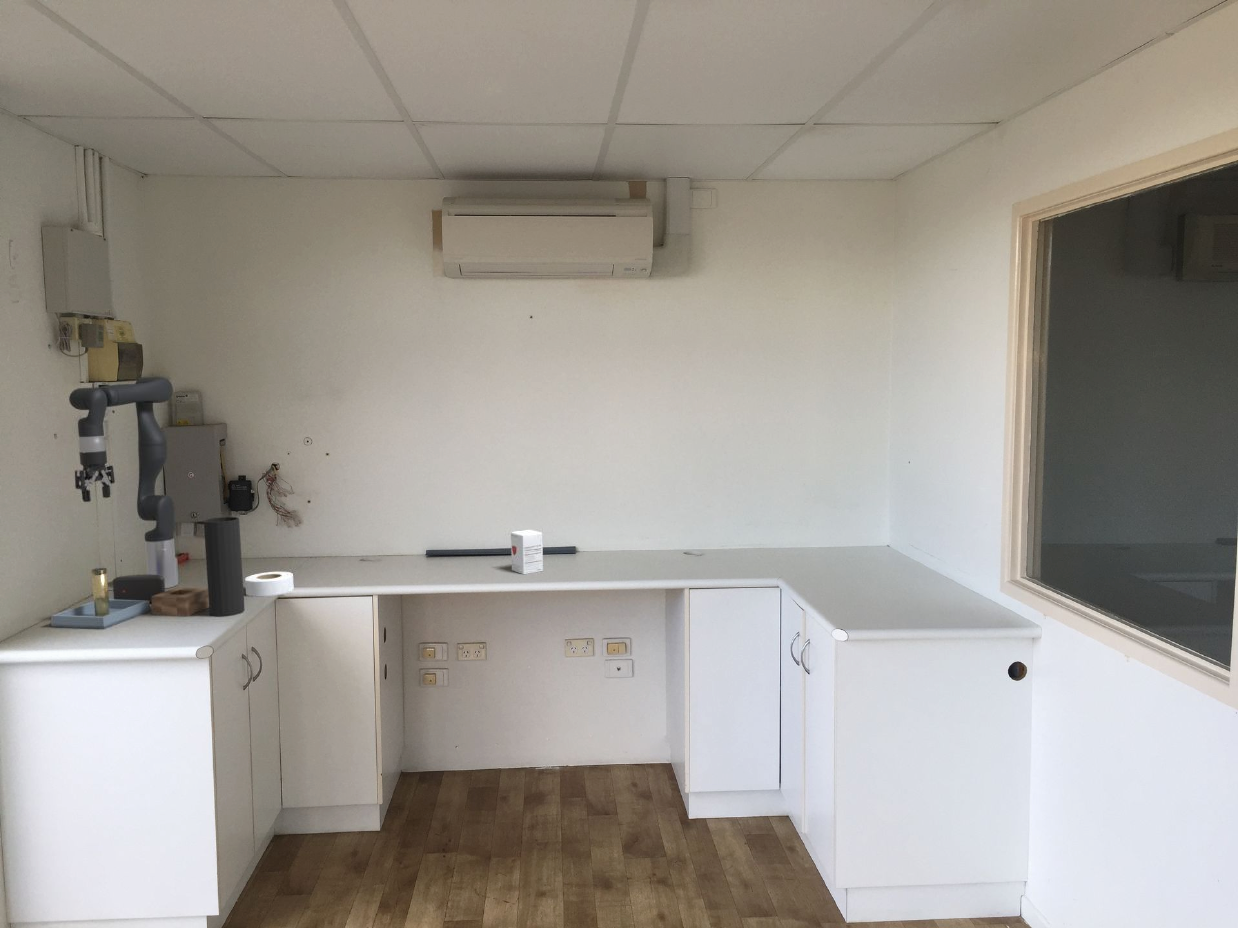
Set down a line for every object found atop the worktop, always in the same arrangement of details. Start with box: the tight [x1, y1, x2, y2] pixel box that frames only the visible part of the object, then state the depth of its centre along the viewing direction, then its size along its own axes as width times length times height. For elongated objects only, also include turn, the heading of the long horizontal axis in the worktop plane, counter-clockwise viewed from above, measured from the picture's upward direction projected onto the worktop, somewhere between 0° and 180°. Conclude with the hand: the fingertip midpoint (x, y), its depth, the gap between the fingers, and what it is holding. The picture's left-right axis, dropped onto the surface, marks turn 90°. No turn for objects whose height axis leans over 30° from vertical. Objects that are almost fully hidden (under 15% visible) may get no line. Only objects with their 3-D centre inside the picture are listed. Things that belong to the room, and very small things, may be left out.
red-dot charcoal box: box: [112, 573, 166, 605], centre depth 295 cm, size 16×5×9 cm, turn 96°
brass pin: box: [91, 567, 110, 617], centre depth 276 cm, size 4×4×15 cm
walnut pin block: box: [151, 586, 209, 617], centre depth 284 cm, size 12×12×6 cm
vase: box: [203, 516, 246, 618], centre depth 280 cm, size 10×10×30 cm
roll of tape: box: [244, 571, 295, 598], centre depth 309 cm, size 16×16×6 cm
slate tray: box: [50, 598, 151, 630], centre depth 276 cm, size 20×18×4 cm
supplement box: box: [510, 529, 544, 575], centre depth 334 cm, size 9×9×15 cm
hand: (96, 499), depth 287 cm, fingers open, 8 cm apart
